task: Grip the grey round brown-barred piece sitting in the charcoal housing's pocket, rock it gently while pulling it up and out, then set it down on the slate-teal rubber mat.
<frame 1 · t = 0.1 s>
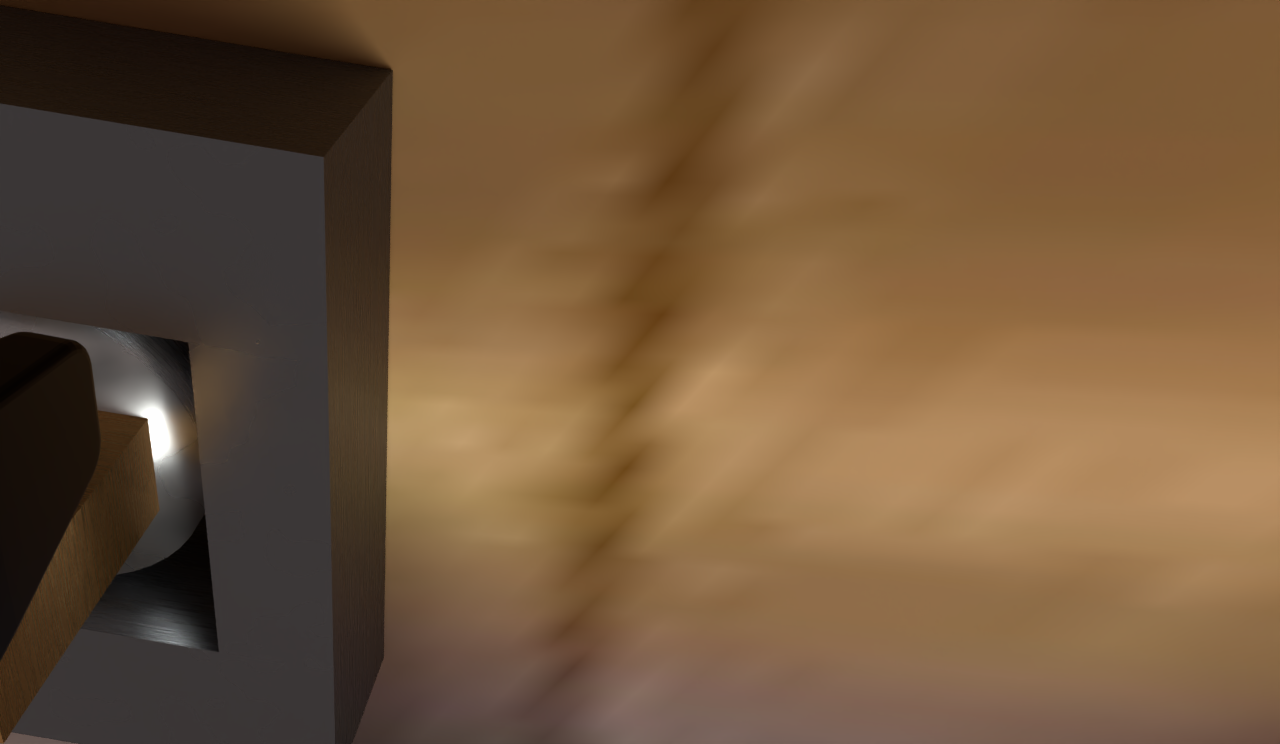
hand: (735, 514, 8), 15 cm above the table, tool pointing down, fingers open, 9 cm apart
housing: (101, 366, 26), on the table
grey round brown-barred piece: (102, 364, 27), resting in housing
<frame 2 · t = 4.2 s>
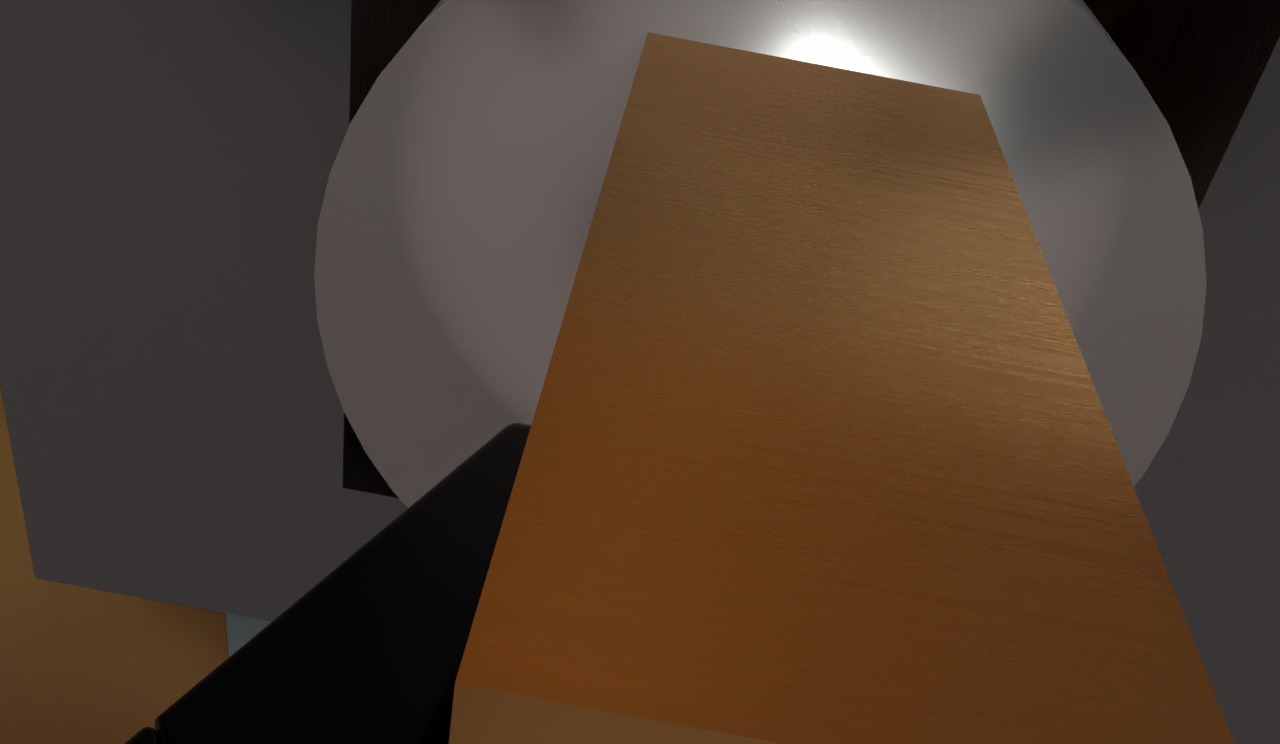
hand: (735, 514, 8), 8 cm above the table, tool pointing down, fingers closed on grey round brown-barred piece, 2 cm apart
housing: (753, 107, 15), on the table
mat: (639, 742, 22), on the table
grey round brown-barred piece: (749, 197, 12), point 3 cm above the table, touching gripper
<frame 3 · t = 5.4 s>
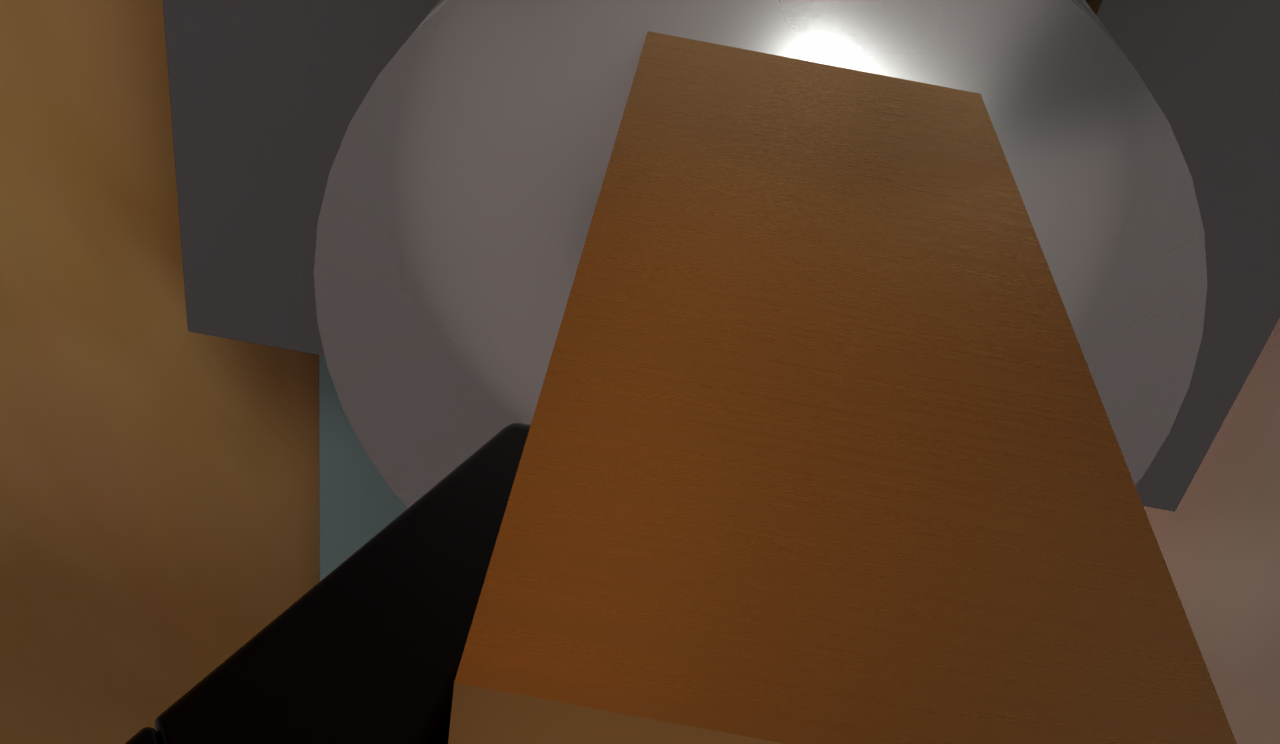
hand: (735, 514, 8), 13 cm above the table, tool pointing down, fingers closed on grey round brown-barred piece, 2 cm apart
mat: (670, 536, 26), on the table
grey round brown-barred piece: (750, 197, 12), point 8 cm above the table, touching gripper
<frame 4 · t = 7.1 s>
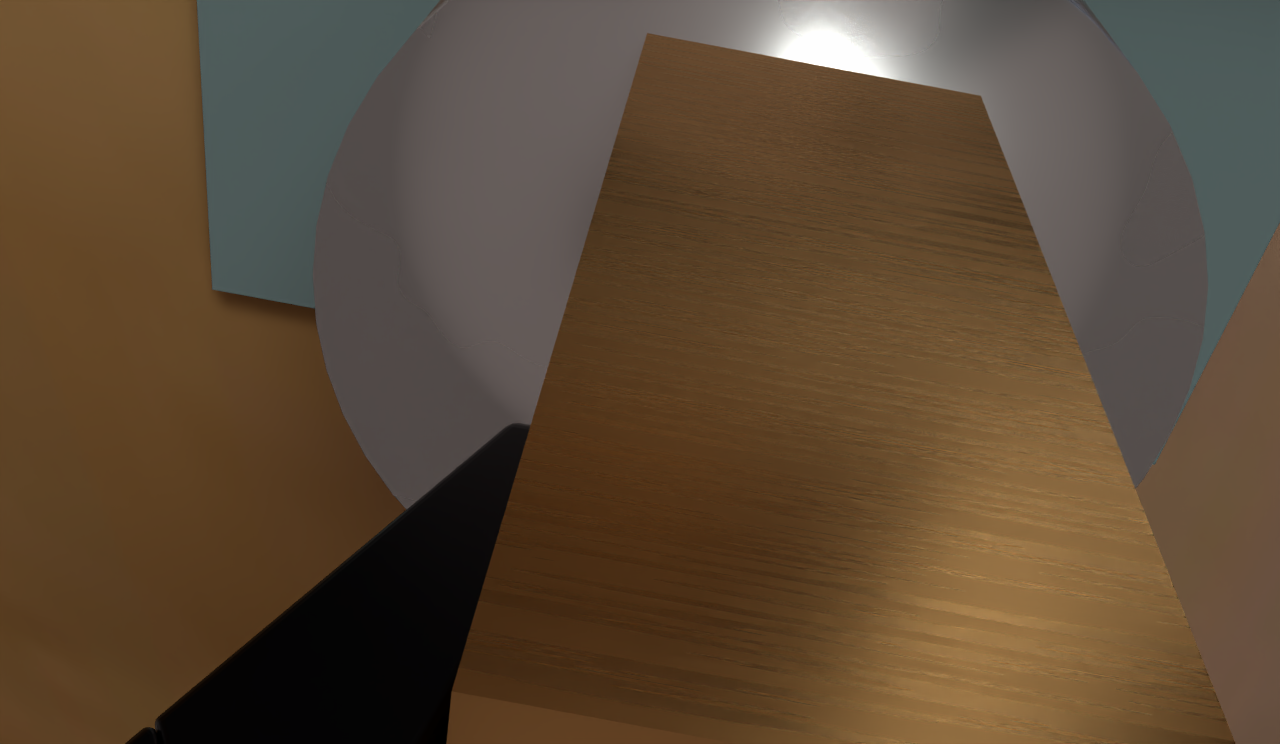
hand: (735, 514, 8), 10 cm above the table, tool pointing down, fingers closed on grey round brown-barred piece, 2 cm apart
mat: (752, 56, 16), on the table
grey round brown-barred piece: (749, 198, 12), point 5 cm above the table, touching gripper
when the fingers open (7 cm above the table, at t = 8.4 s): grey round brown-barred piece stays where it is, resting on mat.
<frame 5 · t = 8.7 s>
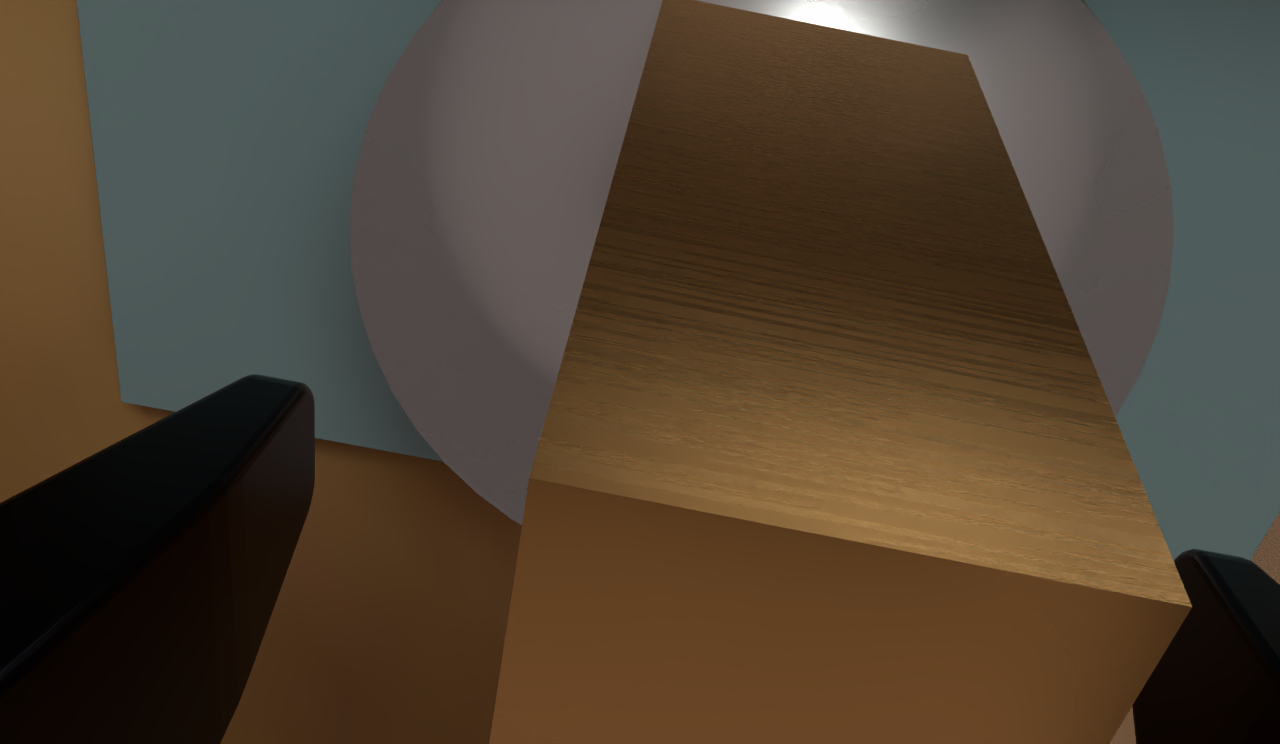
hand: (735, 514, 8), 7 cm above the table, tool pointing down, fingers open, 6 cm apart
mat: (751, 142, 14), on the table
grey round brown-barred piece: (752, 162, 13), point 1 cm above the table, touching mat
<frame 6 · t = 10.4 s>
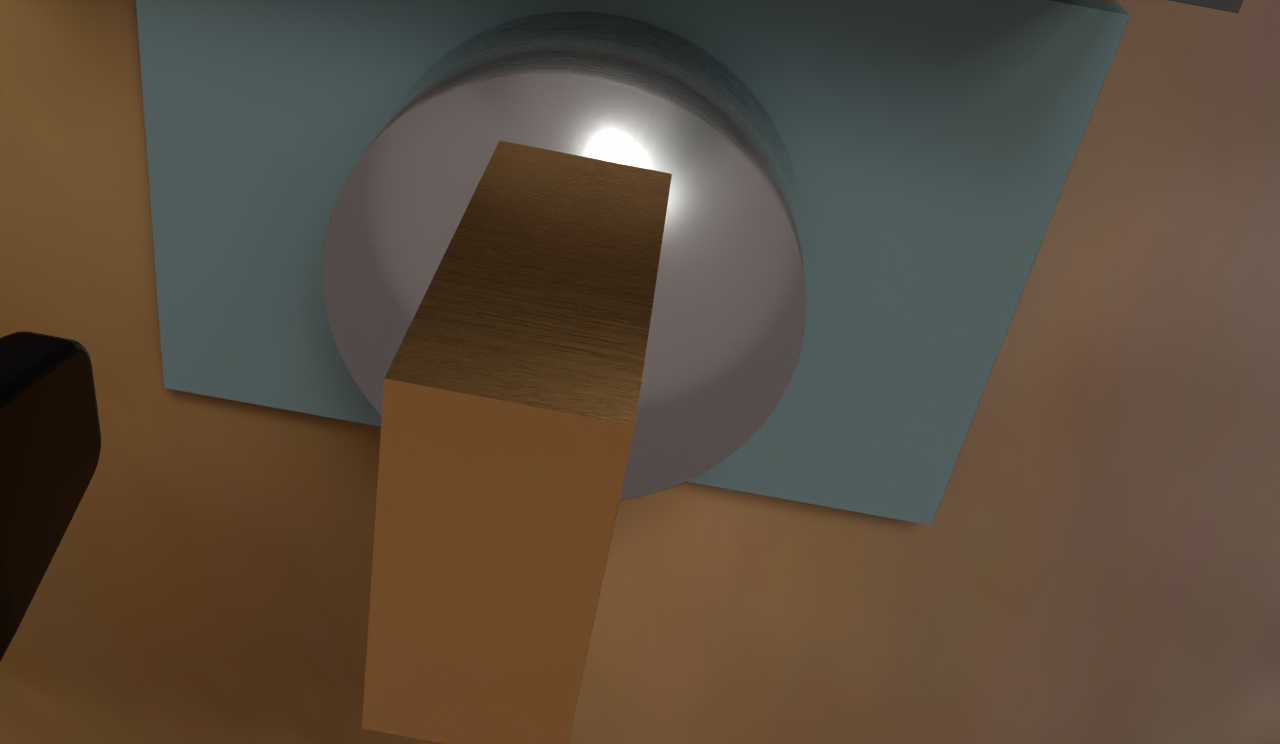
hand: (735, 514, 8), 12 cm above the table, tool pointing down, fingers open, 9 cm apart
mat: (588, 210, 21), on the table
grey round brown-barred piece: (585, 224, 20), point 1 cm above the table, touching mat
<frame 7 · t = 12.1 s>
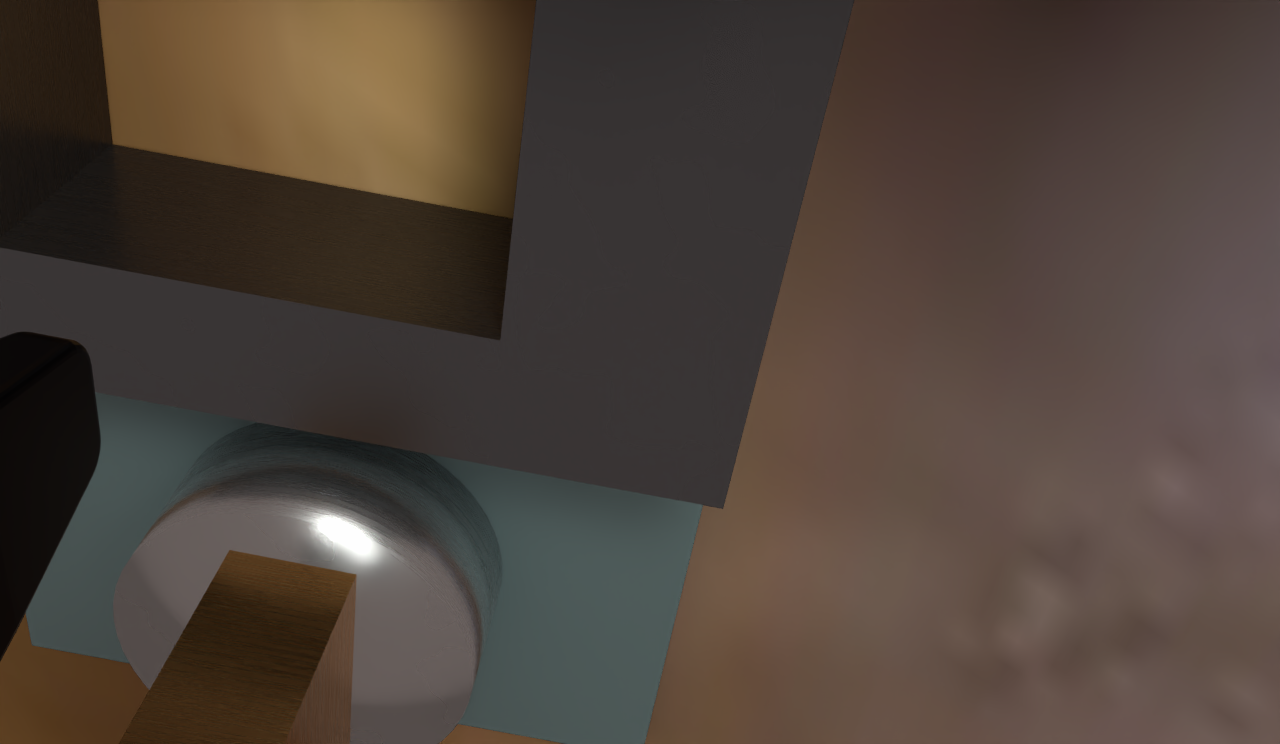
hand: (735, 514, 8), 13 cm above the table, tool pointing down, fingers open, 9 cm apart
mat: (347, 532, 26), on the table
grey round brown-barred piece: (340, 550, 26), point 1 cm above the table, touching mat
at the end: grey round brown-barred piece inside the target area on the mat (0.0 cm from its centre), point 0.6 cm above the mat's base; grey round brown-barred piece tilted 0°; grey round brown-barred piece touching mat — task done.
